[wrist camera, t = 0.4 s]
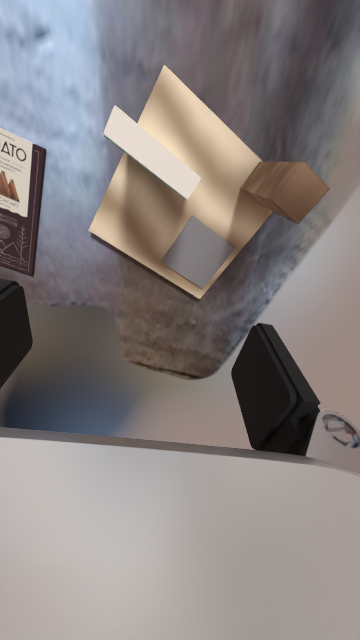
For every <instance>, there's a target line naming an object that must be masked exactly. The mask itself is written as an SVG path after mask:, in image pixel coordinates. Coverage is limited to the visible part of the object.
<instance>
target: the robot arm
mask: <svg viewBox="0 0 360 640" xmlns="http://www.w3.org/2000/svg"><path fill="white" fill-rule="evenodd" d="M31 347H32V334H31V329H30V323H29V317H28V311H27V305H26V300H25V294H24V289H23V287H22V286H19V284H18V283H17V282H16V281H10V280H4V279H0V388H1V387H2V386H3V384H4V383H5V382H6V380H7V379H8V378H9V377H10V375H11V374H12V373H13V371H14V370H15V369H16V367H17V366H18V365H19V363H20V362H21V361H22V360H23V358H24V357H25V356H26V354H27V353H28V352H29V350H30V349H31ZM231 374H232V380H233V383H234V387H235V390H236V394H237V398H238V401H239V405H240V408H241V412H242V415H243V419H244V423H245V426H246V430H247V434H248V437H249V441H250V444H251V447H252V448H253V449H255V450H249V449H238V448H228V447H217V446H206V445H196V444H185V443H175V442H163V441H151V440H141V439H130V438H118V437H107V436H95V435H84V434H72V433H61V432H49V431H37V430H36V431H35V430H25V429H12V428H1V427H0V640H360V431H359V430H358V428H357V427H356V426H355V425H354V424H353V423H352V422H351V421H350V420H348V419H347V418H345V417H344V416H343V415H341V414H339V413H337V412H334V411H331V410H323V411H320V410H319V408H318V405H319V404H320V401H319V400H318V398H317V397H316V395H315V394H314V392H313V390H312V389H311V387H310V385H309V384H308V382H307V380H306V379H305V377H304V376H303V374H302V372H301V371H300V369H299V368H298V366H297V364H296V363H295V361H294V359H293V358H292V356H291V355H290V353H289V351H288V350H287V348H286V346H285V345H284V343H283V342H282V340H281V339H280V337H279V335H278V334H277V332H276V330H275V329H274V327H273V326H272V325H268V324H262V323H258V324H257V325H256V326H255V325H254V326H252V328H251V330H250V332H249V334H248V336H247V338H246V340H245V343H244V345H243V347H242V349H241V351H240V353H239V355H238V357H237V359H236V362H235V364H234V366H233V368H232V373H231Z"/></svg>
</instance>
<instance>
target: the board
mask: <svg viewBox="0 0 360 640" xmlns="http://www.w3.org/2000/svg"><path fill="white" fill-rule="evenodd" d="M137 124H138V125H139V126H140V127H142V128H143V129H144V130H145V131H146V132H148V133H149V134H150V135H151V136H152V137H153V138H155V139H156V140H157V141H158V142H159V143H161V144H162V145H163V146H164V147H165V148H167V149H168V150H169V151H170V152H171V153H172V154H174V155H175V156H176V157H177V158H178V159H180V160H181V161H182V162H183V163H184V164H185V165H187V166H188V167H189V168H190V169H191V170H193V171H194V172H195V173H196V174H197V175H199V176H200V177H201V180H200V181H199V183H198V184H197V186H196V188H195V189H194V191H193V192H192V194H191V196H190V197H189V199H188V200H187V199H186V200H185V199H184V198H183V197H182V196H180V195H179V194H178V193H176V192H175V191H174V190H173V189H171V188H170V187H169V186H167V185H166V184H165V183H164V182H162V181H161V180H160V179H158V178H157V177H156V176H155V175H153V174H152V173H151V172H149V171H148V170H147V169H146V168H144V167H143V166H142V165H141V164H139V163H138V162H137V161H135V160H134V159H133V158H132V157H130V156H129V155H128V154H126V153H125V152H124V154H123V156H122V158H121V161H120V163H119V165H118V167H117V169H116V172H115V174H114V176H113V178H112V180H111V183H110V185H109V187H108V189H107V191H106V193H105V196H104V198H103V200H102V202H101V204H100V207H99V209H98V211H97V213H96V215H95V218H94V220H93V222H92V224H91V226H90V229H89V231H90V232H92V233H93V234H95V235H97V236H98V237H100V238H102V239H103V240H105V241H106V242H108V243H110V244H111V245H113V246H114V247H116V248H118V249H119V250H121V251H123V252H124V253H126V254H127V255H129V256H131V257H132V258H134V259H136V260H137V261H139V262H140V263H142V264H144V265H145V266H147V267H148V268H150V269H152V270H153V271H155V272H157V273H158V274H160V275H161V276H163V277H165V278H166V279H168V280H169V281H171V282H173V283H174V284H176V285H178V286H179V287H181V288H182V289H184V290H186V291H187V292H189V293H190V294H192V295H194V296H195V297H197V298H199V299H200V298H201V297H202V296H203V295H204V294H205V292H206V291H207V290H208V289H209V288H210V286H211V285H212V284H213V283H214V282H215V280H216V279H217V278H218V277H219V276H220V274H221V273H222V272H223V271H224V270H225V269H226V267H227V266H228V265H229V264H230V263H231V261H232V260H233V259H234V258H235V257H236V255H237V254H238V253H239V252H240V251H241V249H242V248H243V247H244V246H245V245H246V243H247V242H248V241H249V240H250V239H251V237H252V236H253V235H254V234H255V233H256V231H257V230H258V229H259V228H260V227H261V225H262V224H263V223H264V222H265V221H266V219H267V218H268V217H269V216H270V215H271V213H272V212H273V211H271V210H269V209H267V208H264V207H262V206H260V205H259V204H258V203H256V202H255V201H254V200H253V199H252V198H251V197H250V196H249V195H247V194H246V193H245V192H244V191H243V190H242V189H241V186H242V185H243V184H244V182H245V181H246V179H247V178H248V177H249V175H250V174H251V173H252V171H253V170H254V168H255V167H256V166H257V164H258V163H259V162H263V161H262V160H261V159H260V158H259V157H258V156H257V155H256V154H255V153H254V152H253V151H251V150H250V149H249V148H248V147H247V146H246V145H245V144H244V143H243V142H242V141H241V140H240V139H239V138H238V137H237V136H236V135H235V134H234V133H233V132H232V131H231V130H230V129H229V128H228V127H227V126H226V125H225V124H224V123H223V122H222V121H221V120H220V119H219V118H218V117H217V116H216V115H215V114H214V113H213V112H212V111H211V110H210V109H209V108H208V107H207V106H206V105H205V104H204V103H203V102H202V101H201V100H200V99H199V98H198V97H197V96H196V95H195V94H194V93H193V92H192V91H191V90H189V89H188V88H187V87H186V86H185V85H184V84H183V83H182V82H181V81H180V80H179V79H178V78H177V77H176V76H175V75H174V74H173V73H172V72H171V71H170V70H169V69H168V68H167V67H166V66H165V65H164V66H163V69H162V71H161V73H160V75H159V77H158V80H157V82H156V84H155V86H154V88H153V91H152V93H151V95H150V97H149V99H148V101H147V104H146V106H145V108H144V110H143V112H142V115H141V117H140V119H139V121H138V123H137ZM192 215H193V216H194V217H195V218H197V219H198V220H199V221H200V222H202V223H203V224H204V225H206V226H207V227H208V228H210V229H211V230H212V231H214V232H215V233H216V234H218V235H219V236H220V237H221V238H223V239H224V240H225V241H227V242H228V243H229V244H231V245H232V246H233V247H235V250H234V251H233V252H232V253H231V255H230V256H229V257H228V258H227V259H226V261H225V262H224V263H223V264H222V266H221V267H220V268H219V269H218V270H217V272H216V273H215V274H214V275H213V277H212V278H211V279H210V280H209V281H208V283H207V284H206V285H205V286H204V288H203V289H202V288H201V287H199V286H198V285H196V284H195V283H193V282H191V281H190V280H188V279H187V278H185V277H184V276H182V275H181V274H179V273H177V272H176V271H174V270H173V269H171V268H170V267H168V266H167V265H165V264H163V263H162V260H163V258H164V257H165V255H166V254H167V252H168V251H169V249H170V248H171V246H172V245H173V243H174V242H175V240H176V239H177V237H178V236H179V234H180V233H181V231H182V230H183V228H184V227H185V225H186V224H187V222H188V221H189V219H190V218H191V216H192Z"/></svg>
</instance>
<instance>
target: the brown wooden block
mask: <svg viewBox="0 0 360 640" xmlns="http://www.w3.org/2000/svg"><path fill="white" fill-rule="evenodd" d="M241 189H242V190H243V191H244V192H245V193H246V194H247V195H249V196H250V197H251V198H252V199H253V200H254V201H255V202H256V203H258V204H259V205H260V206H262V207H264V208H267V209H269V210H271V211H273V212H275V213H277V214H279V215H281V216H283V217H285V218H287V219H289V220H291V221H293V222H295V223H297V224H298V223H299V222H300V221H301V220H302V219H303V218H304V217H305V216H306V215H307V214H308V213H309V211H310V210H311V209H312V208H313V207H314V206H315V205H316V204H317V203H318V202H319V201H320V199H321V198H322V197H323V196H324V195H325V194H326V193H327V192H328V191H329V190H330V189H329V187H328V186H327V185H326V184H325V183H324V182H323V181H322V180H321V179H320V178H319V177H318V176H317V175H316V173H315V172H314V171H313V170H312V169H311V168H310V167H309V166H308V165H307V164H306V163H305V162H304V161H291V162H259V163H258V164H257V166H256V167H255V168H254V170H253V171H252V173H251V174H250V175H249V177H248V178H247V179H246V181H245V182H244V184H243V185H242V186H241Z"/></svg>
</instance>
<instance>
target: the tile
mask: <svg viewBox="0 0 360 640" xmlns="http://www.w3.org/2000/svg"><path fill="white" fill-rule="evenodd" d="M103 134H104V136H105V137H106V138H107V139H108V140H110V141H111V142H112V143H114V144H115V145H116V146H117V147H119V148H120V149H121V150H123V151H124V152H125V153H126V154H128V155H129V156H130V157H132V158H133V159H134V160H135V161H137V162H138V163H139V164H141V165H142V166H143V167H144V168H146V169H147V170H148V171H149V172H151V173H152V174H153V175H155V176H156V177H157V178H158V179H160V180H161V181H162V182H164V183H165V184H166V185H167V186H169V187H170V188H171V189H173V190H174V191H175V192H176V193H178V194H179V195H180V196H182V197H183V198H184V199H185V200H186V199H187V200H188V199H189V197H190V196H191V194H192V192H193V191H194V189H195V188H196V186H197V184H198V183H199V181H200V180H201V177H200V176H199V175H197V174H196V173H195V172H194V171H193V170H191V169H190V168H189V167H188V166H187V165H185V164H184V163H183V162H182V161H181V160H180V159H178V158H177V157H176V156H175V155H174V154H172V153H171V152H170V151H169V150H168V149H167V148H165V147H164V146H163V145H162V144H161V143H159V142H158V141H157V140H156V139H155V138H153V137H152V136H151V135H150V134H149V133H148V132H146V131H145V130H144V129H143V128H142V127H140V126H139V125H138V124H137V123H136V122H134V121H133V120H132V119H131V118H130V117H129V116H127V115H126V114H125V113H124V112H123V111H121V110H120V109H119V108H118V107H117V106H115V105H114V108H113V110H112V113H111V115H110V118H109V120H108V123H107V125H106V128H105V130H104V133H103Z"/></svg>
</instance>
